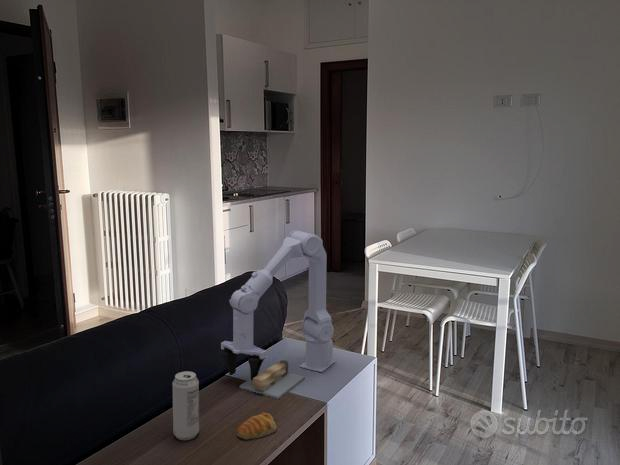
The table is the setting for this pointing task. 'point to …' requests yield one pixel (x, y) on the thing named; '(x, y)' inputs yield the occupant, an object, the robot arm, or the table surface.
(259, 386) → the bar
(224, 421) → the table surface
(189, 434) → the energy drink can
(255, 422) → the pastry
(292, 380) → the label board
